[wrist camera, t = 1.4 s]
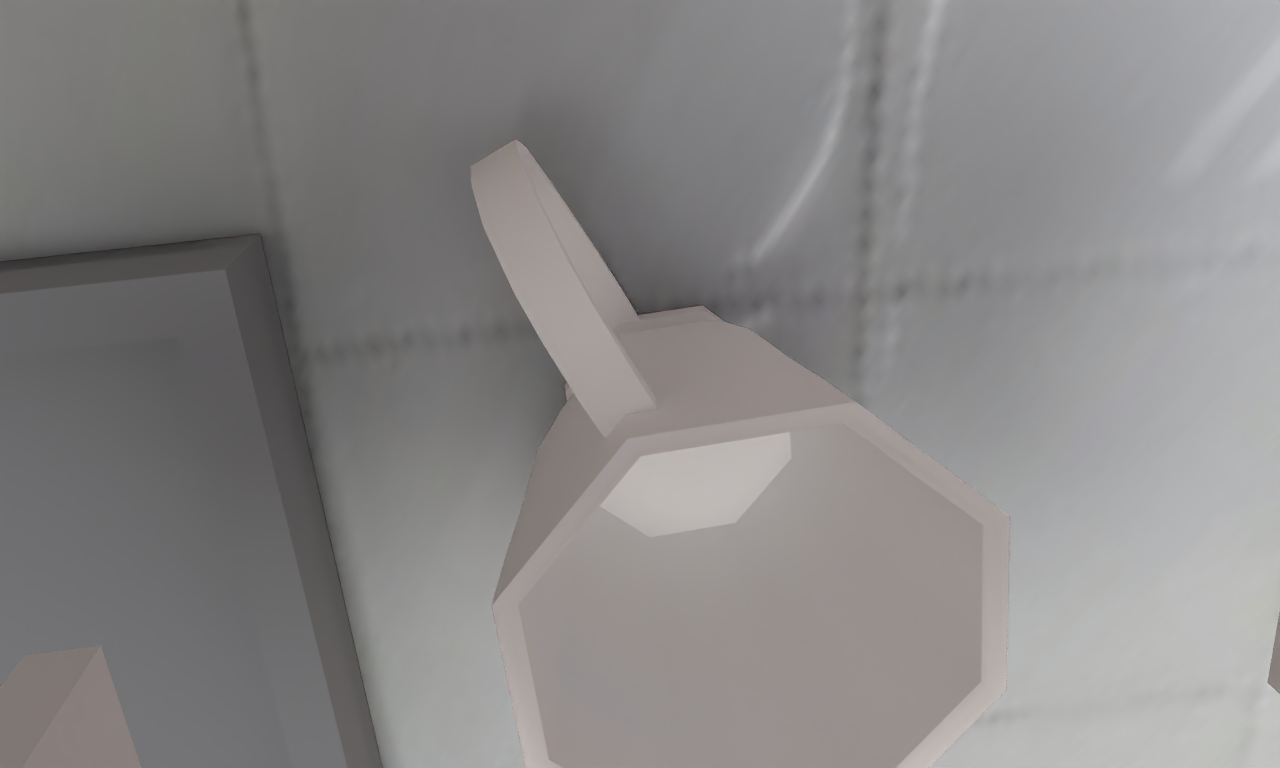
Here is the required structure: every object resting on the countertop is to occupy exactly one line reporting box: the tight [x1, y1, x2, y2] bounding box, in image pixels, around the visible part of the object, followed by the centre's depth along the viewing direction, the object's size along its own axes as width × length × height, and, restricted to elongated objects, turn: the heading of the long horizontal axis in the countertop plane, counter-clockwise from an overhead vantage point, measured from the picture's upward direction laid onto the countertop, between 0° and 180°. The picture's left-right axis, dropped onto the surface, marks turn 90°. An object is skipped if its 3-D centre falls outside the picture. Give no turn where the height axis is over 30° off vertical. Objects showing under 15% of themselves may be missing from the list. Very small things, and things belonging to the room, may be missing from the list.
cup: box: [470, 139, 1010, 768], centre depth 16 cm, size 7×10×8 cm
